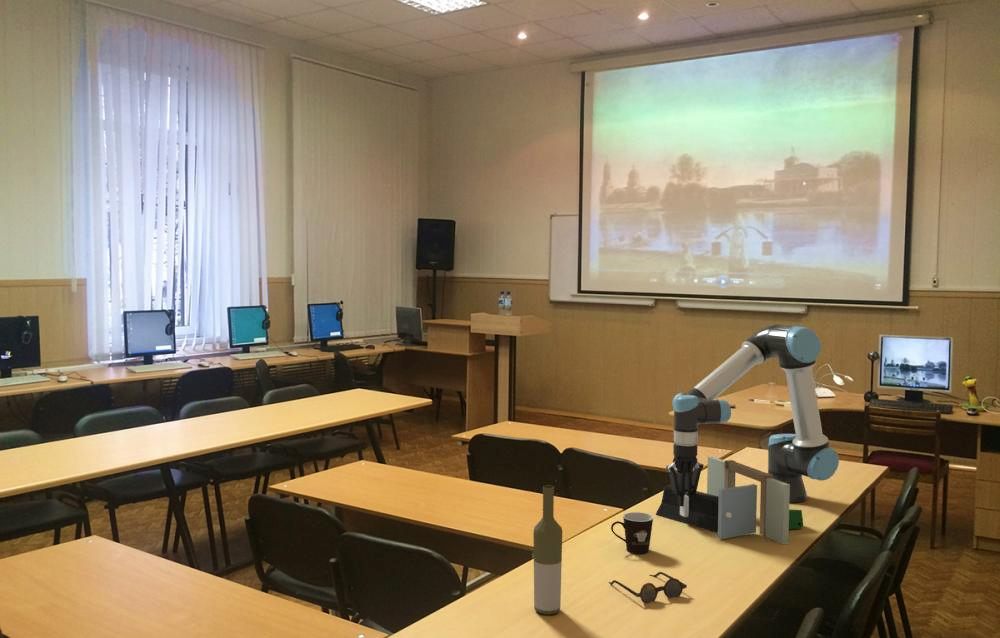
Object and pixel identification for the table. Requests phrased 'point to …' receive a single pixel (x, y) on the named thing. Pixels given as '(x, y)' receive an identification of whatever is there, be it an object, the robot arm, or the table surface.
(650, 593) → the eyeglasses
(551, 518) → the bottle
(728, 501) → the door
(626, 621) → the table surface
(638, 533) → the coffee mug
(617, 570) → the table surface
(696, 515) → the barrier
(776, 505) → the door frame
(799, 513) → the clamp
